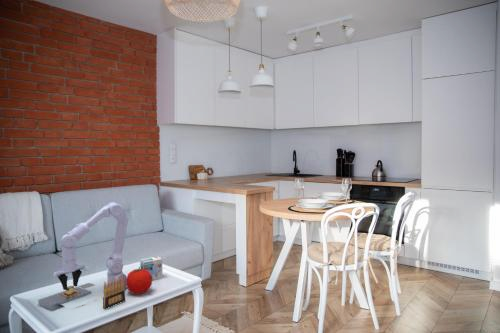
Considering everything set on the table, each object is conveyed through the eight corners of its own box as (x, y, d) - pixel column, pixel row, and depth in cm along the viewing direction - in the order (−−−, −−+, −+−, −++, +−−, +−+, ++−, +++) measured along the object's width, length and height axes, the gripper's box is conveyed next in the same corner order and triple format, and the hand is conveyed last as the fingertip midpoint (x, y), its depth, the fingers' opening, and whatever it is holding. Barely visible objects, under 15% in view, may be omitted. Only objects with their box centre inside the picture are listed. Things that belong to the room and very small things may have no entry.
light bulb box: (144, 282, 197) (143, 262, 196) (140, 278, 202) (139, 259, 202) (163, 278, 203) (162, 258, 202) (159, 274, 208) (158, 255, 208)
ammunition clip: (105, 309, 163) (104, 282, 163) (102, 308, 164) (101, 281, 164) (125, 300, 172) (124, 275, 172) (122, 300, 173) (121, 274, 173)
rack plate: (91, 296, 178) (91, 291, 178) (52, 311, 163) (51, 304, 162) (77, 291, 185) (77, 286, 185) (38, 305, 169) (38, 299, 169)
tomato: (145, 285, 191) (144, 263, 191) (157, 292, 181) (156, 269, 181) (122, 291, 183) (121, 269, 183) (133, 299, 173) (132, 275, 173)
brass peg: (75, 299, 176) (75, 286, 176) (68, 301, 173) (67, 289, 173) (72, 297, 178) (71, 285, 178) (65, 299, 176) (64, 287, 175)
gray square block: (95, 287, 190) (95, 284, 190) (84, 291, 185) (84, 288, 185) (88, 285, 193) (88, 282, 193) (78, 289, 188) (77, 286, 188)
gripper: (78, 254, 183) (79, 281, 184) (49, 262, 171) (50, 291, 172) (86, 256, 179) (88, 284, 180) (57, 264, 167) (58, 294, 168)
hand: (70, 287), depth 176 cm, fingers open, 4 cm apart
